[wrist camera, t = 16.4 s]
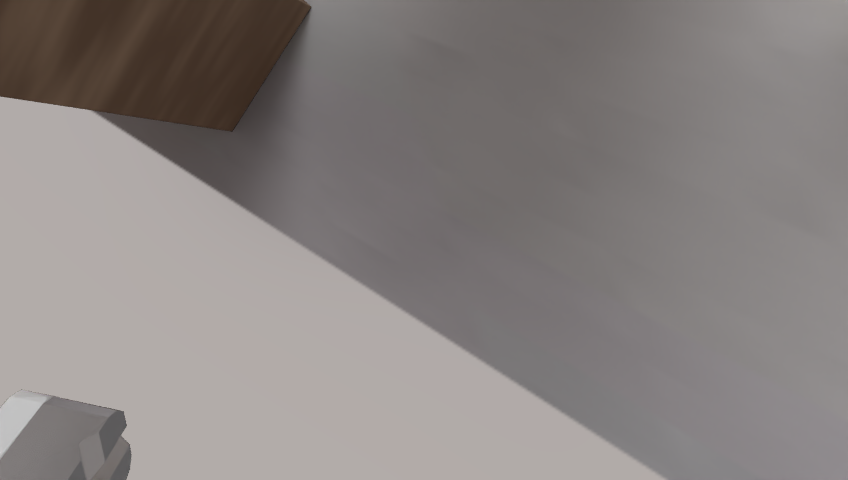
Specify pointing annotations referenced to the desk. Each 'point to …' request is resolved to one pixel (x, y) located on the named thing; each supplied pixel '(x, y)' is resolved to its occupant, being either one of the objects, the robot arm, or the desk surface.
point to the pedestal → (145, 55)
